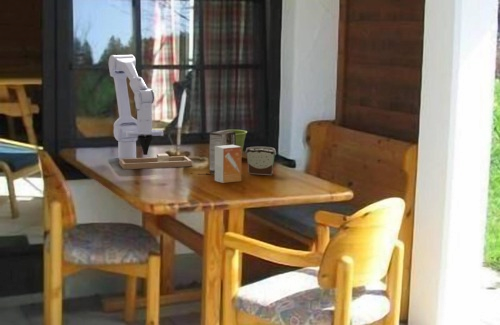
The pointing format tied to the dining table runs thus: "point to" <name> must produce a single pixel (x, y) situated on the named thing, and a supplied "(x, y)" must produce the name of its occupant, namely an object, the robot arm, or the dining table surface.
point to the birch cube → (162, 158)
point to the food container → (260, 160)
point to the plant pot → (239, 138)
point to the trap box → (154, 162)
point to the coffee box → (219, 143)
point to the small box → (228, 163)
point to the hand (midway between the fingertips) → (145, 154)
